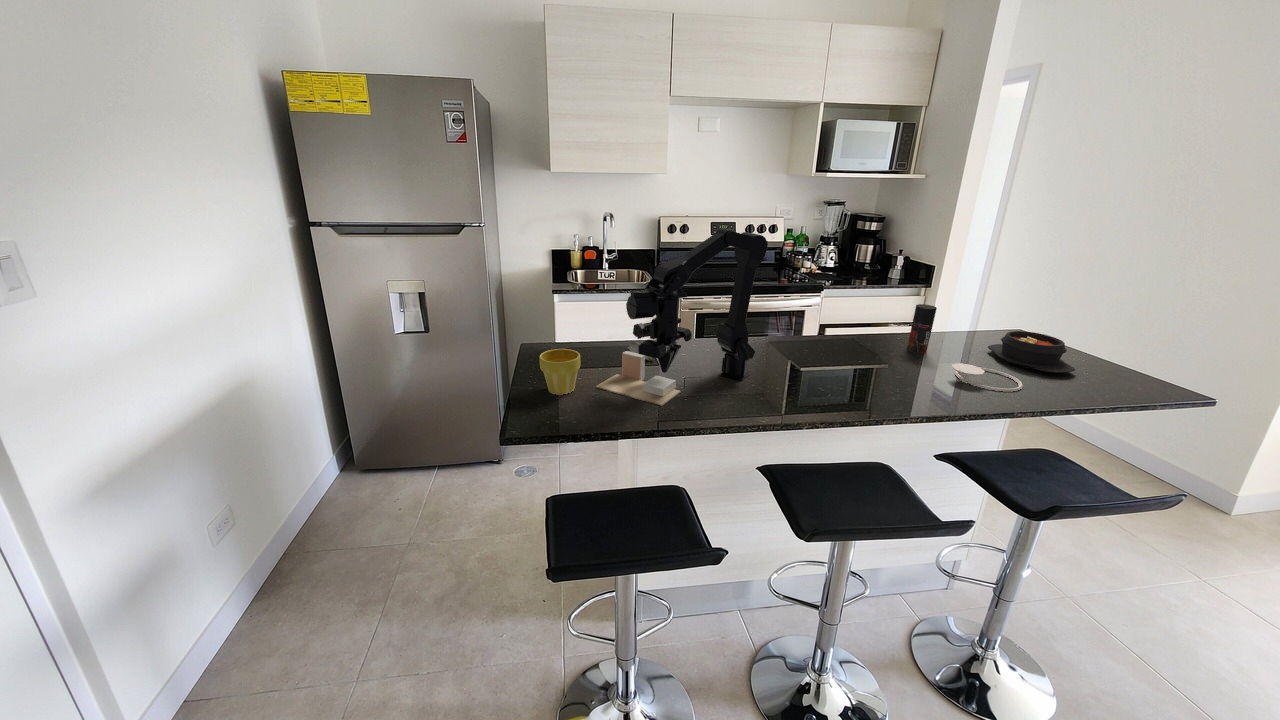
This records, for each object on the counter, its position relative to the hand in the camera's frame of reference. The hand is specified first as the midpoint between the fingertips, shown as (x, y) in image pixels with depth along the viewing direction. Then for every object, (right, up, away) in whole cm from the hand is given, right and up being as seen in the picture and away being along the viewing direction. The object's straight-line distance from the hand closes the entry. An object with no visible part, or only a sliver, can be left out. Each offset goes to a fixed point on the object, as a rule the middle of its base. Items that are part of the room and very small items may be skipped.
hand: (664, 372), depth 141 cm
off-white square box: (0, -3, +2) cm, 3 cm away
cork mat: (-7, -5, 0) cm, 8 cm away
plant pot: (-27, -5, -1) cm, 28 cm away
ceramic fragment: (-7, +4, +25) cm, 26 cm away
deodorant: (+85, +6, +36) cm, 92 cm away
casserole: (+116, +2, +28) cm, 119 cm away
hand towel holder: (+92, -3, +13) cm, 93 cm away
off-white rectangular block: (-8, -2, +8) cm, 12 cm away
